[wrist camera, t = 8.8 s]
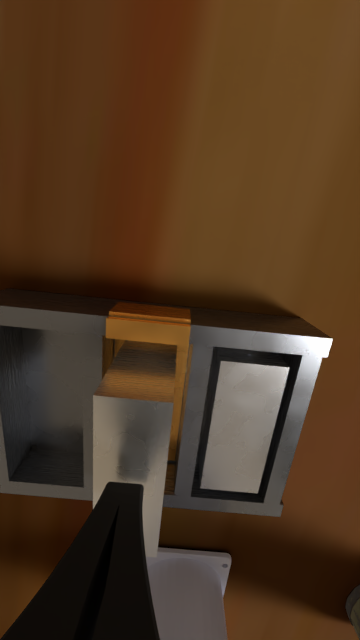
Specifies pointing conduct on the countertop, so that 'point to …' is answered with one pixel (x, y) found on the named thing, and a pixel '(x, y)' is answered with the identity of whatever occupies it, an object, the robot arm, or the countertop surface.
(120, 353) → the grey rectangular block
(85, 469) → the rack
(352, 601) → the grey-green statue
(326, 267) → the countertop surface
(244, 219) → the countertop surface
